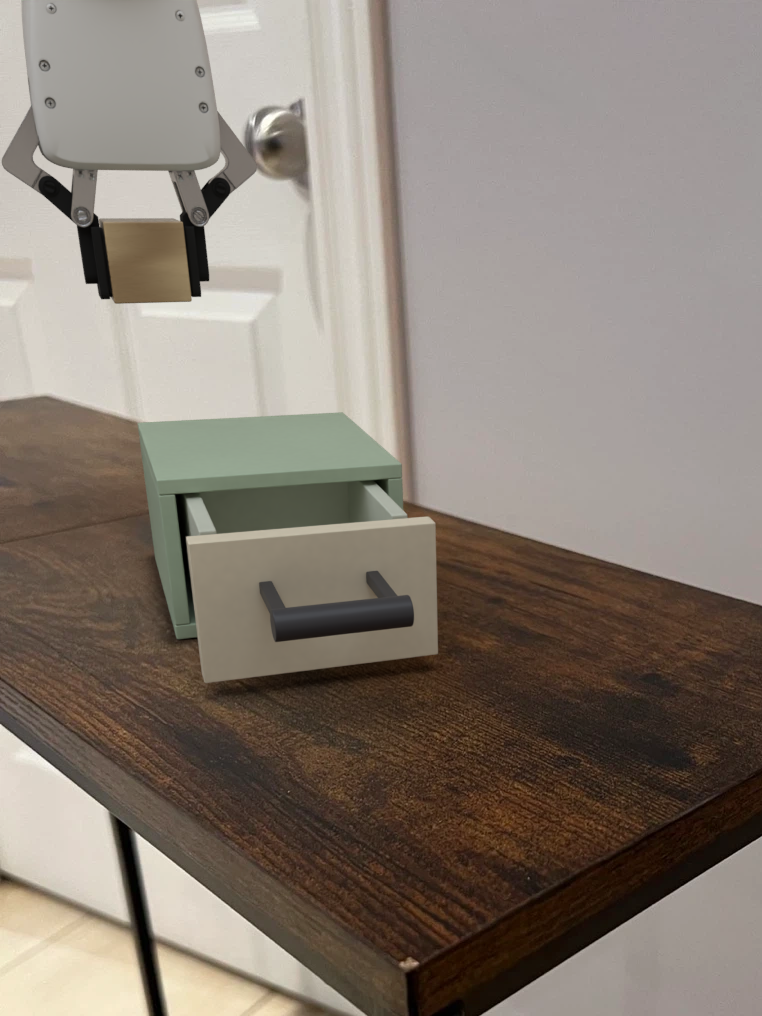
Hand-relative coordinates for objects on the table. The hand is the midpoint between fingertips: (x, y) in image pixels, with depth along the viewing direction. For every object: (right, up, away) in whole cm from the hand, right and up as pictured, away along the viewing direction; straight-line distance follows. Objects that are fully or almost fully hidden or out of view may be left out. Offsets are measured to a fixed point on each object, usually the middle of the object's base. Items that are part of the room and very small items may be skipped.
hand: (149, 292), depth 71 cm
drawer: (+12, -22, -12) cm, 28 cm away
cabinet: (+8, -18, -2) cm, 20 cm away
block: (0, 0, 0) cm, 0 cm away
